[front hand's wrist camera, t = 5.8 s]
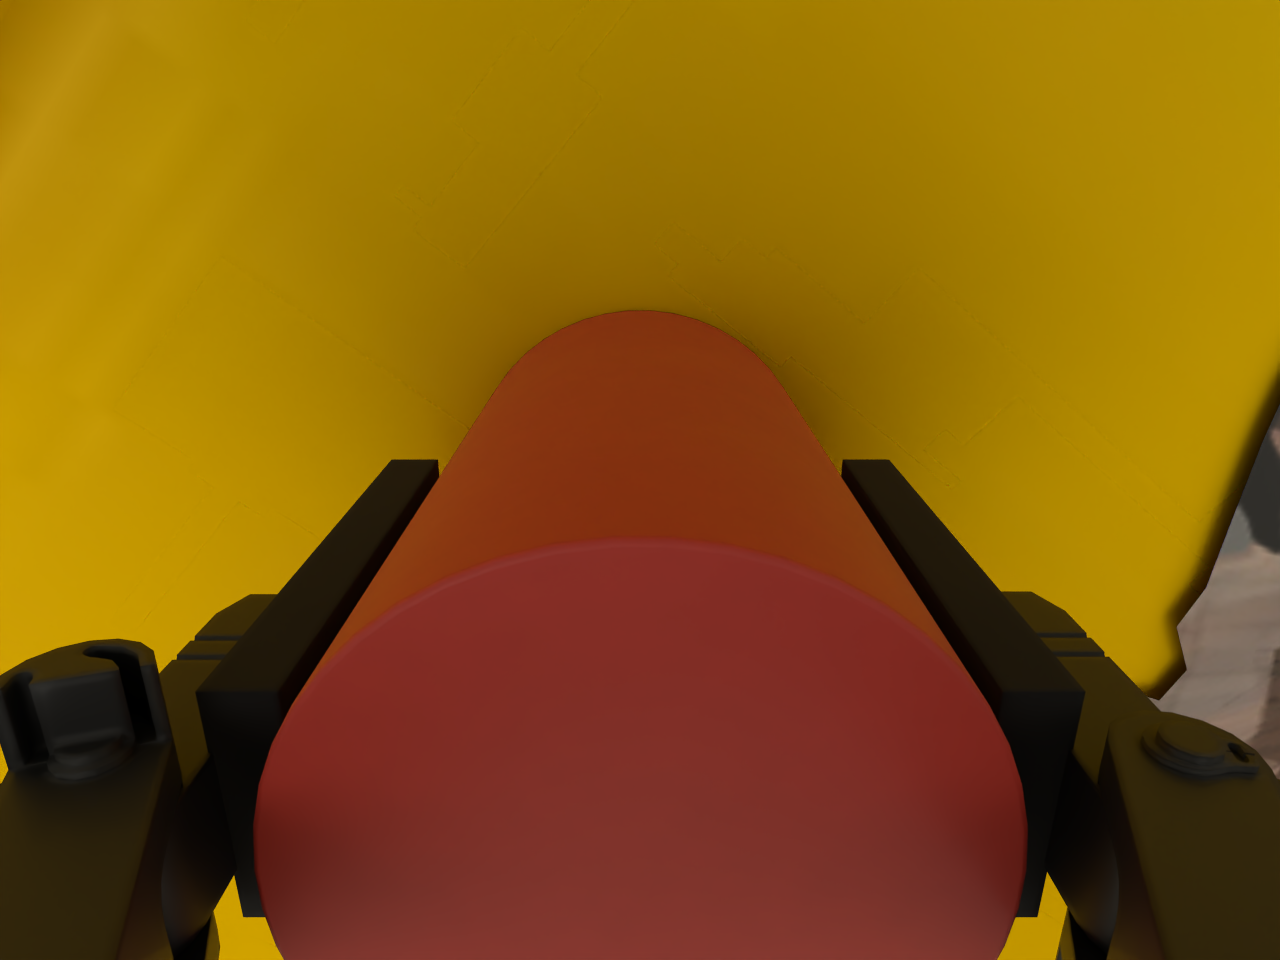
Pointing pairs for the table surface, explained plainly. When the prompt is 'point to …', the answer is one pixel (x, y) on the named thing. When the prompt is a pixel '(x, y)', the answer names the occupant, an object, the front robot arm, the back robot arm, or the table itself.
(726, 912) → the canister
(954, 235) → the table surface
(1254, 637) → the hat
